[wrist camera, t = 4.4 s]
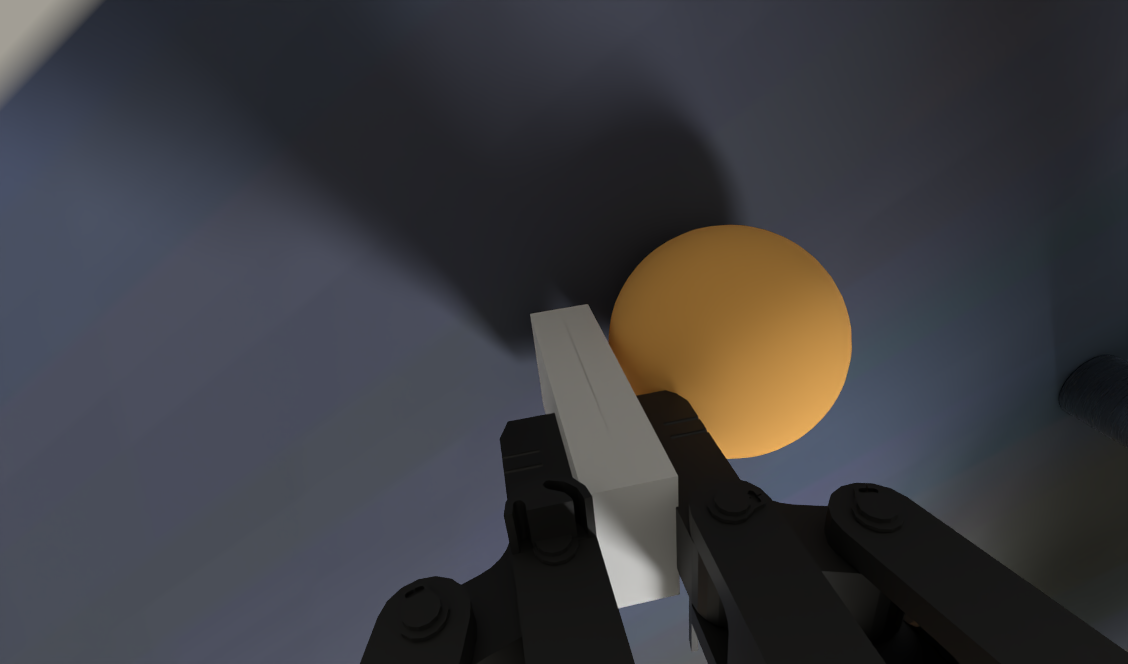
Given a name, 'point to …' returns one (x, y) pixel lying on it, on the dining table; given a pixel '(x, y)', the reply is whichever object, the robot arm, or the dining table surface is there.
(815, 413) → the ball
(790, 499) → the dining table surface
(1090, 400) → the inner post
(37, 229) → the dining table surface
